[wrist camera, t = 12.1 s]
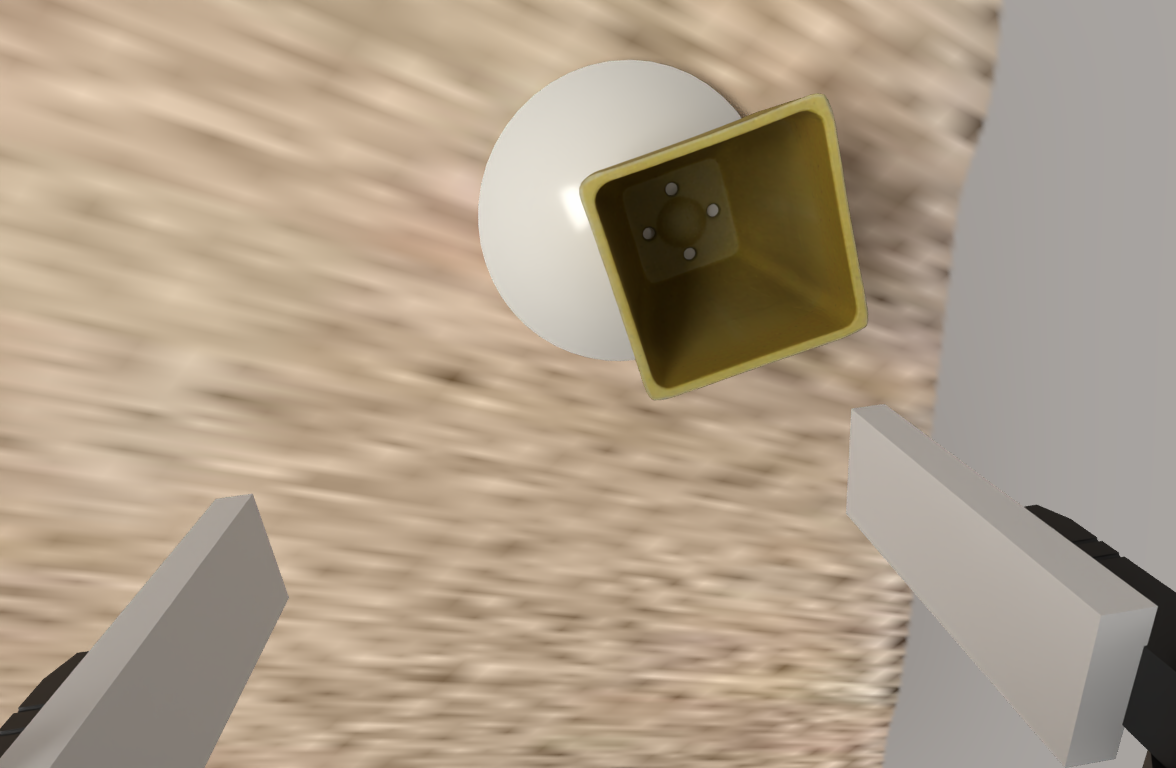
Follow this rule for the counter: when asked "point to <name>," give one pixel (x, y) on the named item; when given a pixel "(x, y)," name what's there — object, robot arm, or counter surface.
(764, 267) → the flower pot
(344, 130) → the counter surface
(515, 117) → the white flat disc
